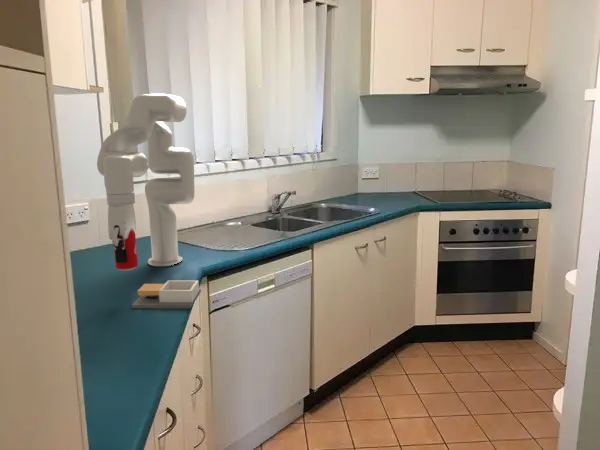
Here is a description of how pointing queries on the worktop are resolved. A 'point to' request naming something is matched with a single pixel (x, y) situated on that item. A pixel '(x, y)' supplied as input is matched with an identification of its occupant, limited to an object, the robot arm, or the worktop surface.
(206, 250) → the worktop surface
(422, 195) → the worktop surface
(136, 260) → the beverage can
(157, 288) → the tan flat square block
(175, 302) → the grey tray with holder
